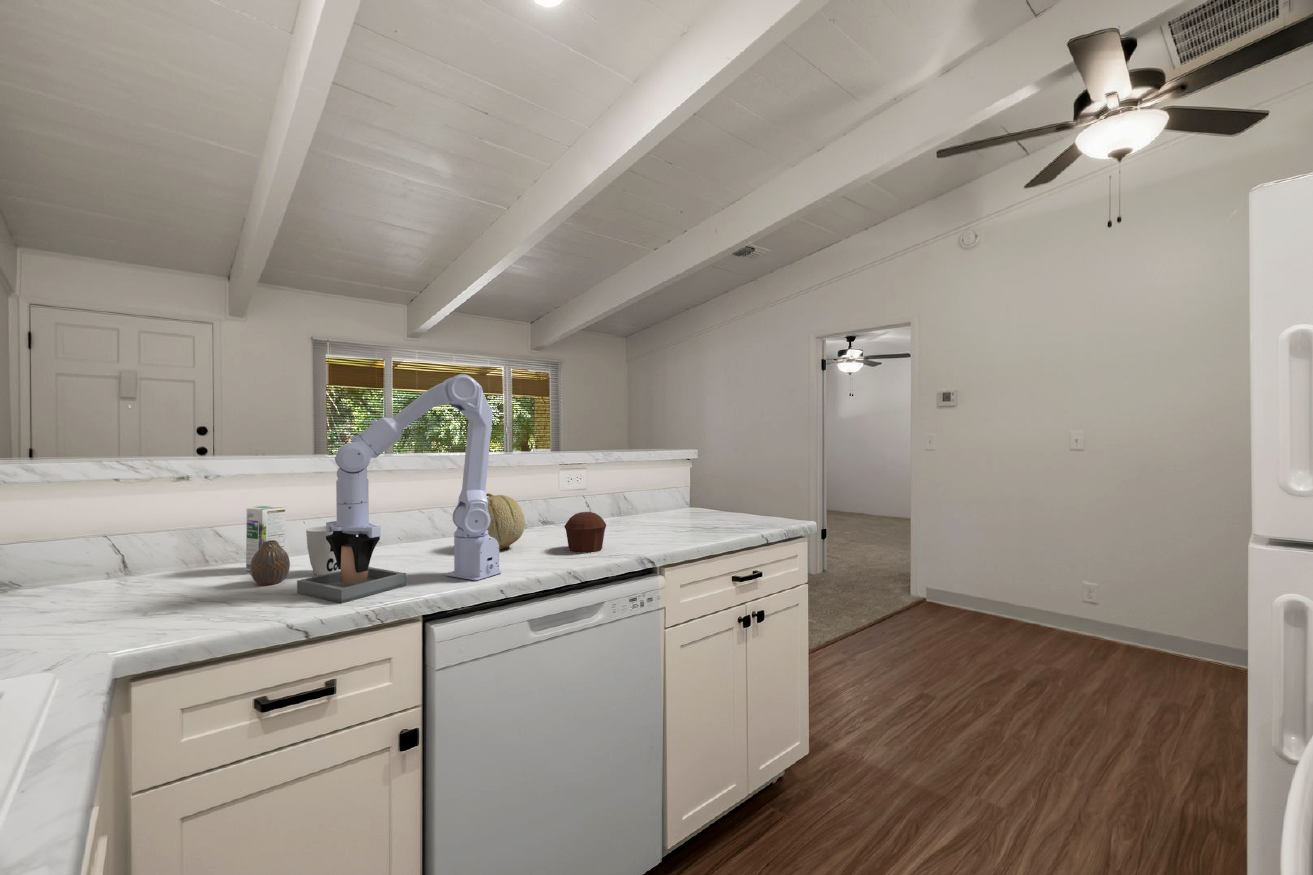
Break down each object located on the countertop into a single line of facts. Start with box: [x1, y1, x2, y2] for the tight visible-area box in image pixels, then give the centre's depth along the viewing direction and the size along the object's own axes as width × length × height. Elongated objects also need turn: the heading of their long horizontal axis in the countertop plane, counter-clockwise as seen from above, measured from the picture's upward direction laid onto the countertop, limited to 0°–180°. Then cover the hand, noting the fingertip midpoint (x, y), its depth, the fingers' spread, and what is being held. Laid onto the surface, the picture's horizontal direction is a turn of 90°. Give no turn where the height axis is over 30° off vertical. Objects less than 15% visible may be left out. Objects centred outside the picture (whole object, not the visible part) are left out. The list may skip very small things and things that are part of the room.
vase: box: [249, 540, 291, 586], centre depth 120 cm, size 7×7×9 cm
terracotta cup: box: [340, 545, 370, 584], centre depth 115 cm, size 5×5×7 cm
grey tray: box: [296, 566, 407, 604], centre depth 115 cm, size 14×14×2 cm
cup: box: [305, 525, 341, 576], centre depth 129 cm, size 8×8×10 cm
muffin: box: [564, 511, 607, 554], centre depth 154 cm, size 12×11×10 cm
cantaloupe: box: [486, 492, 526, 550], centre depth 155 cm, size 15×15×15 cm
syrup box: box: [245, 505, 287, 572], centre depth 131 cm, size 6×6×14 cm
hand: (353, 569), depth 115 cm, fingers closed on terracotta cup, 5 cm apart
